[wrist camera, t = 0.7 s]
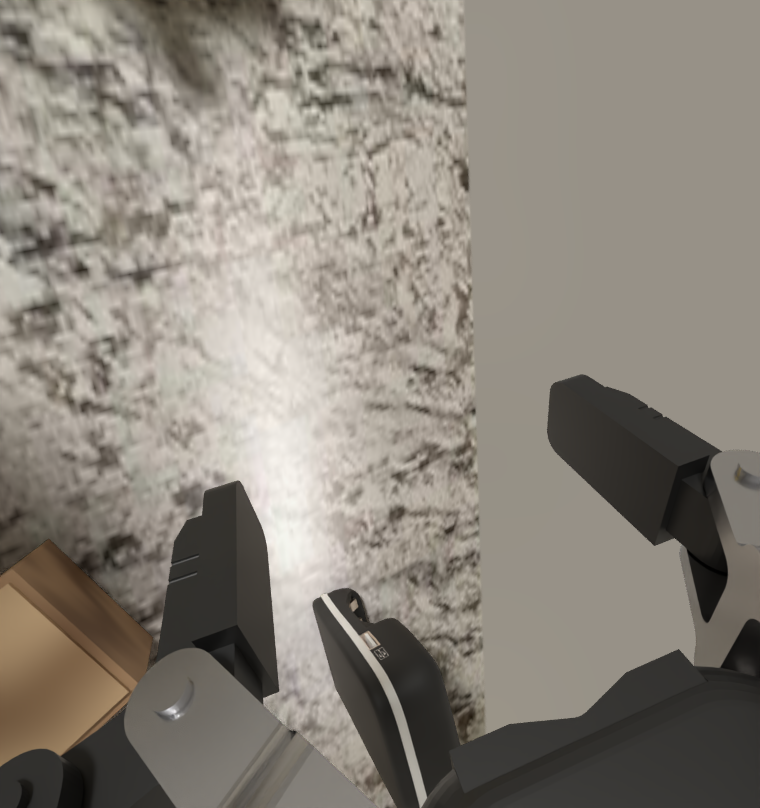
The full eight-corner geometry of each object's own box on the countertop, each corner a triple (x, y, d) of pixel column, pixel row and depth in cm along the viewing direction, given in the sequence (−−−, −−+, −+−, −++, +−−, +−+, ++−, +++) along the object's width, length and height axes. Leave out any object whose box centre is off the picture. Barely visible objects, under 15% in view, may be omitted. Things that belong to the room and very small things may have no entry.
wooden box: (-114, 660, 20) (-210, 735, 16) (48, 538, 23) (9, 570, 18) (15, 761, 22) (-35, 856, 17) (153, 637, 25) (142, 690, 20)
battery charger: (385, 664, 30) (485, 793, 20) (335, 692, 29) (415, 848, 18) (360, 572, 30) (449, 654, 19) (308, 595, 28) (374, 699, 18)
